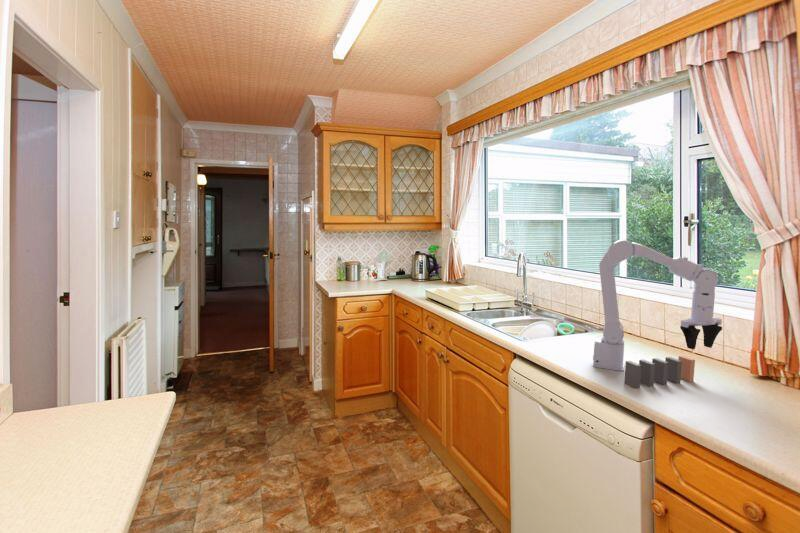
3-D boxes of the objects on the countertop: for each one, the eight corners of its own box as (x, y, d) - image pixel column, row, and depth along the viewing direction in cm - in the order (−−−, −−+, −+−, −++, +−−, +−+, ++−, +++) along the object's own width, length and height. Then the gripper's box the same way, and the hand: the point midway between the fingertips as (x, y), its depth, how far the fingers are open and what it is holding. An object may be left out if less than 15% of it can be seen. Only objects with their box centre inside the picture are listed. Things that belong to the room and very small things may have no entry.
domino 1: (635, 388, 132) (636, 365, 131) (624, 383, 136) (625, 361, 136) (639, 387, 132) (641, 365, 132) (628, 382, 137) (629, 360, 136)
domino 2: (649, 386, 133) (650, 364, 133) (638, 381, 138) (639, 359, 137) (653, 386, 134) (655, 363, 133) (642, 381, 138) (643, 359, 137)
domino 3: (662, 385, 135) (664, 362, 134) (651, 379, 139) (652, 358, 138) (666, 384, 135) (668, 362, 135) (655, 379, 140) (656, 358, 139)
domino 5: (689, 381, 138) (691, 360, 137) (677, 377, 142) (678, 356, 141) (693, 381, 138) (695, 359, 137) (681, 376, 142) (682, 355, 142)
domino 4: (676, 383, 136) (677, 361, 136) (664, 378, 140) (665, 357, 140) (680, 382, 137) (681, 361, 136) (668, 378, 141) (669, 356, 140)
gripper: (696, 309, 133) (693, 353, 135) (732, 307, 137) (728, 349, 138) (676, 305, 140) (673, 346, 141) (711, 303, 144) (707, 343, 145)
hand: (699, 347), depth 140 cm, fingers open, 6 cm apart
